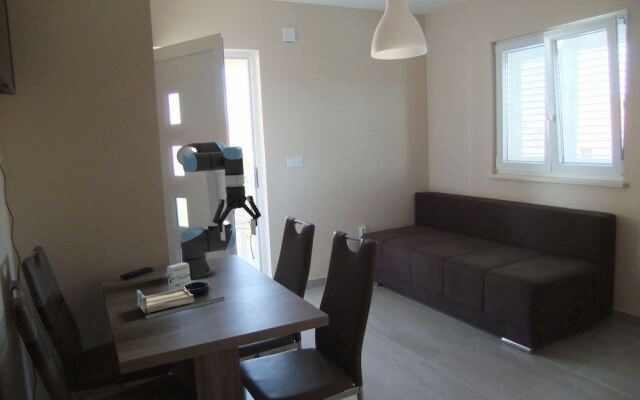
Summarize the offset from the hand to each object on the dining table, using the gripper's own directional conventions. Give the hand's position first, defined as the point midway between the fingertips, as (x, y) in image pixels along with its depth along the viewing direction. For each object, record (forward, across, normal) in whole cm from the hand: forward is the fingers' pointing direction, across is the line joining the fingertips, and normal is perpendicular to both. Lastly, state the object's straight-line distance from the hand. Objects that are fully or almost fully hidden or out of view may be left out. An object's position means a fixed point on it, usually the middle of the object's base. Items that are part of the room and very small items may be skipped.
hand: (238, 237), depth 188 cm
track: (+26, -22, +12) cm, 36 cm away
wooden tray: (+26, -28, +12) cm, 40 cm away
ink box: (+26, -17, +28) cm, 42 cm away
